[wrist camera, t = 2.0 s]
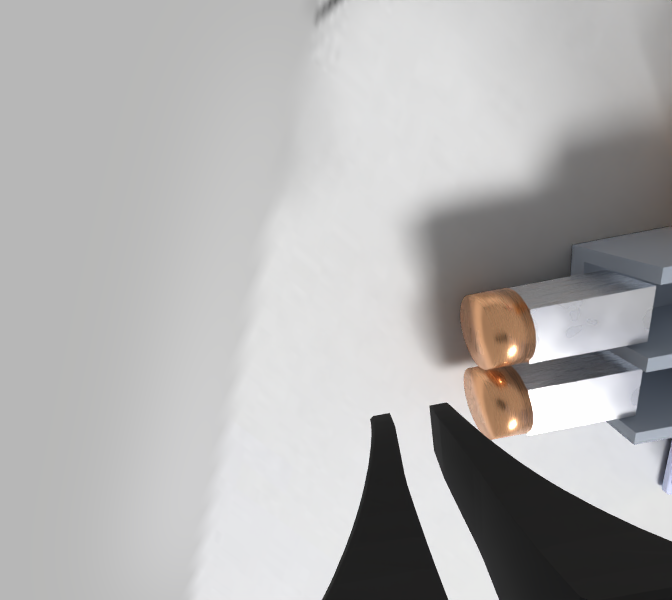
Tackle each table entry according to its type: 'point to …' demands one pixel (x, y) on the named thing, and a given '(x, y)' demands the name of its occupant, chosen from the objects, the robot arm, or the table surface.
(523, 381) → the knob
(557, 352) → the knob
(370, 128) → the table surface
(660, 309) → the mount
